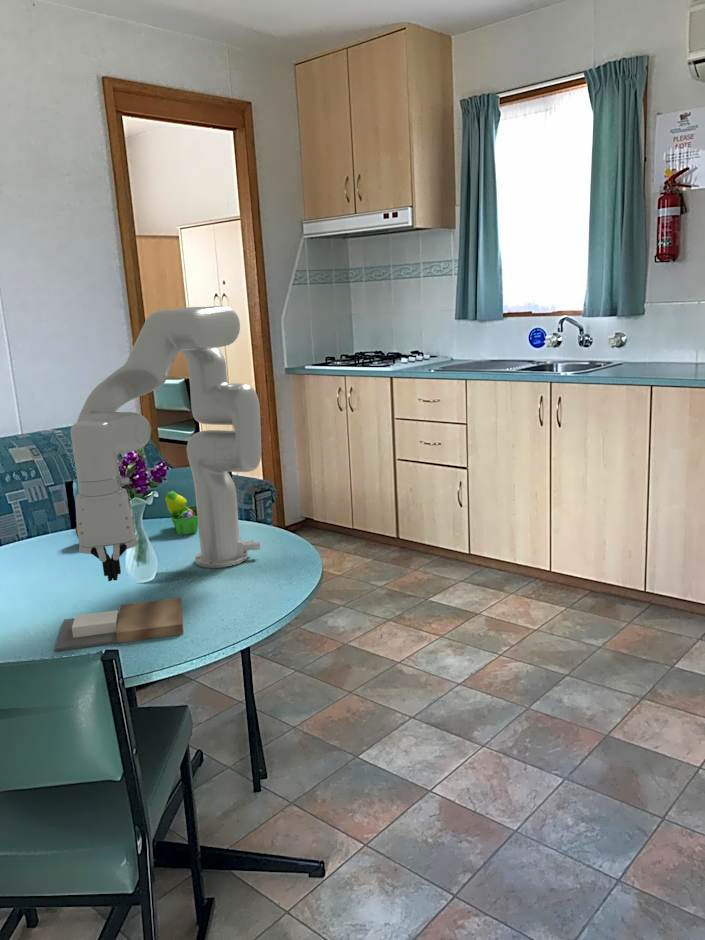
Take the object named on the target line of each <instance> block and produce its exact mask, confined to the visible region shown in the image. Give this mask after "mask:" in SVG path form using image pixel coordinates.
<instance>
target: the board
mask: <svg viewBox="0 0 705 940" xmlns="http://www.w3.org/2000/svg"><path fill="white" fill-rule="evenodd" d="M118 612H119V617H118V624H117V631H116V636H117V643H116V644H120V643H126V642H133V641H134V642H135V641H141V640H147V639H155V638H163V637H169V636H170V637H171V636H176V635H184V623H183V621H184V620H183V619H184V618H183V604H182V597H174V598H165V599H158V600H150V601H143V602H142V601H140V602H134V603H126V604H120V606H119V610H118Z"/></svg>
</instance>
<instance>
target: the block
mask: <svg viewBox="0 0 705 940" xmlns="http://www.w3.org/2000/svg"><path fill="white" fill-rule="evenodd" d="M118 612H119V610H109V611H102V612H94V613H93V612H91V613H87V614H79V615H78V614H77V615H75V616H74V618H75V619H74V622H73V626H72V633H73V638H75V637H82V636H90V635H97V634H105V633H112V632H116V631H117V624H118V617H119V615H118Z"/></svg>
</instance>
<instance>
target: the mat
mask: <svg viewBox="0 0 705 940" xmlns="http://www.w3.org/2000/svg"><path fill="white" fill-rule="evenodd" d="M118 615H119V611H118ZM74 619H75V617H72V618H65V619H63V621H62V625H61V626H60V631H59V635H58V637H57V640H56V643H55V647H54V652H61V650H62V651H67V650H68V651H69V650H75V649H83V648H91V647H98V646H105V645H112V644H118V643H117V636H116V632H112V633H105V634H97V635H90V636H82V637H75V638H73V633H72V626H73V622H74Z"/></svg>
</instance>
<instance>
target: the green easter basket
mask: <svg viewBox="0 0 705 940" xmlns="http://www.w3.org/2000/svg"><path fill="white" fill-rule="evenodd" d="M164 500H165V502H166V507H167V510H168V511H169V513H170V514H171V516H170V520H171V522H172V523H173V526H174V529H175V530H176V531H175V532H176V534H177V535H178V534H181V535H190V534H189V533H191V534H197V533H198V529H199V527H198V517H197V506H196V505H191V506H187V502H188V500H187V499H186V497H184V496H182V495H180V494H178V493H176V492H175V491H173V490H171V491H168V492H166V496H165V499H164ZM196 532H197V533H196Z"/></svg>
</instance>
